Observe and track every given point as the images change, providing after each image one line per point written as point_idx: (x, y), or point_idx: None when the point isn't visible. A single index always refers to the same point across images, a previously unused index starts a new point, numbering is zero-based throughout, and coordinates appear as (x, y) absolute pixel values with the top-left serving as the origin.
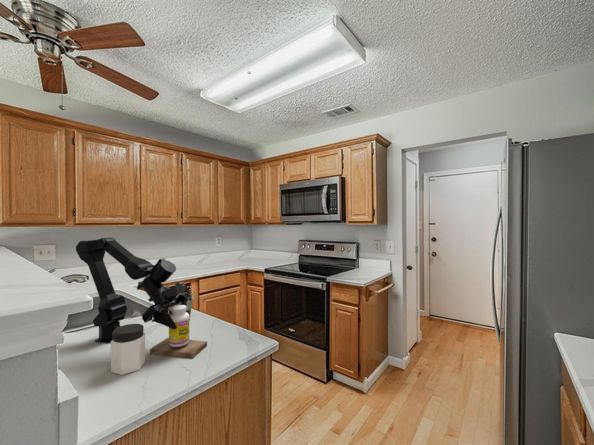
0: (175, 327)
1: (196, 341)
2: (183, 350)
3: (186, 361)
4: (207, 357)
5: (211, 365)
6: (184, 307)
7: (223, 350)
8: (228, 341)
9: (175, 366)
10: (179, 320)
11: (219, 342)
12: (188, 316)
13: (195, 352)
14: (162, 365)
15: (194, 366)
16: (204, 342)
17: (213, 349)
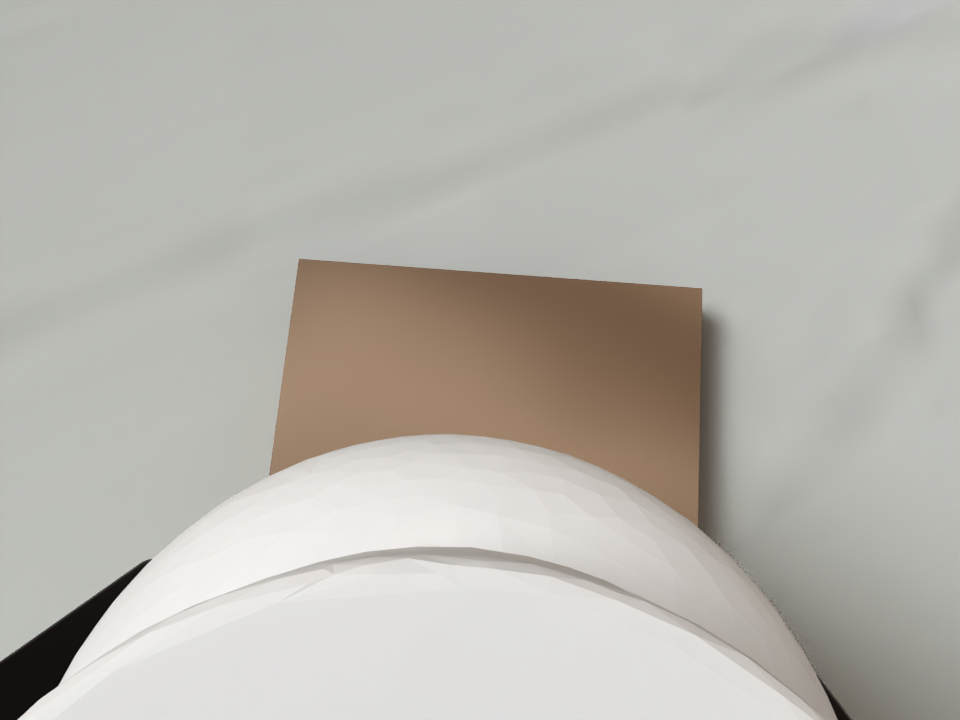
0: (826, 689)
1: (308, 427)
2: (637, 483)
3: (782, 355)
4: (635, 140)
5: (806, 23)
6: (423, 655)
7: (429, 21)
8: (161, 47)
9: (929, 434)
10: (784, 632)
11: (198, 152)
12: (397, 440)
13: (638, 289)
14: (950, 630)
15: (872, 200)
16: (336, 283)
17: (415, 151)
